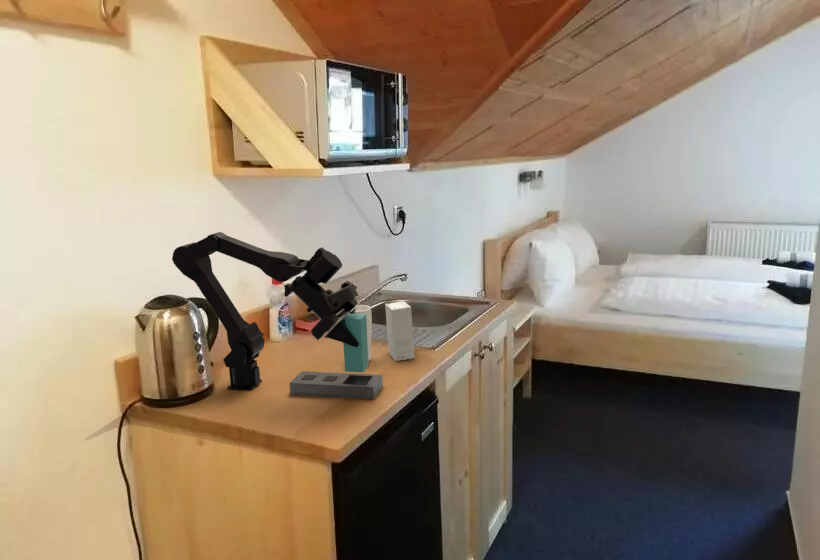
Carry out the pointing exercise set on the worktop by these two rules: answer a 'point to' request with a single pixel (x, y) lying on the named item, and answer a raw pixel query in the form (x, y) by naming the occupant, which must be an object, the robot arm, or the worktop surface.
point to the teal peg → (358, 355)
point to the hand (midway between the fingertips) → (361, 342)
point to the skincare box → (400, 331)
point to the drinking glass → (367, 310)
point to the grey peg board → (336, 385)
